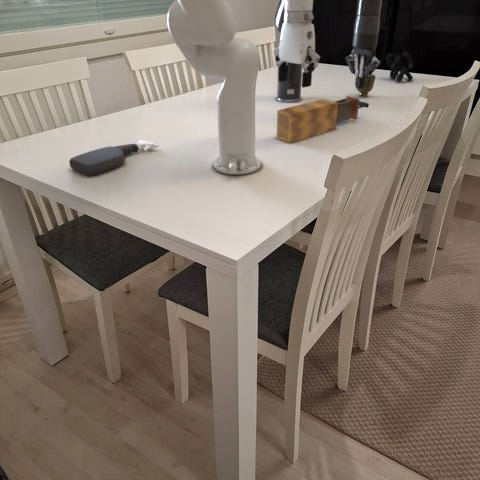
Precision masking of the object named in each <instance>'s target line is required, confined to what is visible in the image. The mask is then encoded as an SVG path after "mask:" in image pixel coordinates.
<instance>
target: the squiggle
mask: <svg viewBox="0 0 480 480" xmlns="http://www.w3.org/2000/svg"><path fill="white" fill-rule="evenodd" d="M401 57H402V59H401ZM391 59H392V60H391ZM393 60H394V61H393ZM385 61H386V64H387V67H390V68H391V70H390V72H389V78H390V79H391V80H395V79H396V81H397V82H399V83H400V82H402V81H403V79H404V76H406V78H407V80H408V81H412V80H413V79H414V77H413V75H412V74H411V73H410V72H409V71H410V70H412V69H413V68H414V64H413V61H412V57H411V54H410V53H409V52H408V51H403V53H402V54H401V55H396V54H394V53H392V52H390V53H387V55H386V57H385ZM406 62H407V65H408V66H407V67H405V66H404V65H405V64H406ZM400 70H401V71H400Z"/></svg>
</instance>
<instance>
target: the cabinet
mask: <svg viewBox="0 0 480 480" xmlns="http://www.w3.org/2000/svg"><path fill="white" fill-rule="evenodd" d="M334 101H335V100H334ZM334 101H333V100H329V99H326V98H322V99H317V100H313V101H309V102H306V103H302V104H298V105H297V104H296V105H293V106H289V107H285V108H281V109H278V110H276V112H277V113H276V139H278V140H280V141H282V142H286V143H288V144H292V143H296V142H298V141H301V140H305V139H308V138H311V137H315V136H318V135H322V134H324V133H328V132H331V131H334V130H336V126H337V123H336V117H337V107H338V102H334Z"/></svg>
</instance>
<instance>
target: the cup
mask: <svg viewBox="0 0 480 480" xmlns="http://www.w3.org/2000/svg"><path fill="white" fill-rule="evenodd" d="M376 76H377V75H375V74H374V73H372V74H371V75H368V76H366V78H365V85H364V87H363V88H362V89H358V88H356V90H357V92H358V96H359V97H368V96H369V93H370V92H371V91H372V90H373V88H374V85H375V81H376V78H377V77H376Z"/></svg>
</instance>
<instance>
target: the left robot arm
mask: <svg viewBox="0 0 480 480" xmlns="http://www.w3.org/2000/svg"><path fill="white" fill-rule="evenodd" d="M313 9H314V0H285V4H284V23H283V25H282V30H281V33H280V38H279V45H280V46H279V45H278V46H276V48H273V54H274V58H275V59H274V60H275V62H276V66H277V68H278V67H279V72H278V71H277V82H278V81H279V82H282V81H287V78H288V66H286V65H287V64H288V62H290V63H295V64H301V65H302V70H303V71H302V79H301V88H308V87H311V86H312V79H313V78H312V77H313V72H314V71H315V69H316V68H317V67H318V64H319V62H320V59H321V56H320V55H319V54H318V53H317V52H316V33H315V32H316V31H315V25H314V23H312V22H313V21H314V17H315V16H314V14H313ZM166 19H167V20H166V21H167V22H166V23H167V28H168V32H169V35H170V37H171V38H172V41H173V42H174V43H175V45H176V46H177V48H178V50H179V51H180V52H181V54H182V55H183V56H184V58H185V59H186V61H187V62H188V64H189V65H190V66H191V68H192V69H193V70H194V71H195V72H196V73H197V74H198V75H201V76H203V77H208V78H213V79H219V80H222V81H223V82H222V85H221V87H220V89H219V91H218V93H217V97H216V110H217V111H216V112H217V133H218V135H217V136H218V137H217V138H218V157H216V158H215V159H214V160H213V167H214V169H215V170H216V171H217V172H219V173H222V174H226V175H233V176H234V175H238V176H239V175H247V174H252V173H254V172H256V171H258V170H259V169H260V168H261V166H262V161H261V159H260V158H259V157H258V156H256V90H257V89H256V88H257V80H258V74H259V69H260V59H261V58H260V52H259V49H258V46H256V44H255V43H254V42H252V41H251V40H249V39H246V38H244V37H237V36H236V33H237V24H236V20H235V16H234V14H233V12H232V9H231V8H230V6H229V4H228V2H227V1H226V0H175V1H173V2H172V4H170V6H169V9H168V12H167V18H166Z"/></svg>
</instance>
